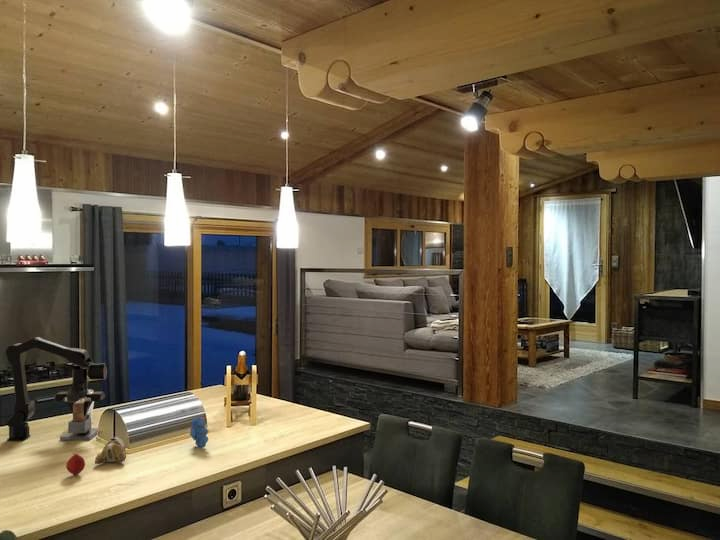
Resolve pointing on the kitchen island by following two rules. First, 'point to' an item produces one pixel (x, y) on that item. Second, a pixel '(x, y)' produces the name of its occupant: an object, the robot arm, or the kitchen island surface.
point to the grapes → (199, 432)
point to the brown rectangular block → (79, 412)
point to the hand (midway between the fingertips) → (79, 416)
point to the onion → (75, 464)
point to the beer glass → (91, 404)
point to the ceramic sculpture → (112, 451)
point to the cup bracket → (80, 430)
